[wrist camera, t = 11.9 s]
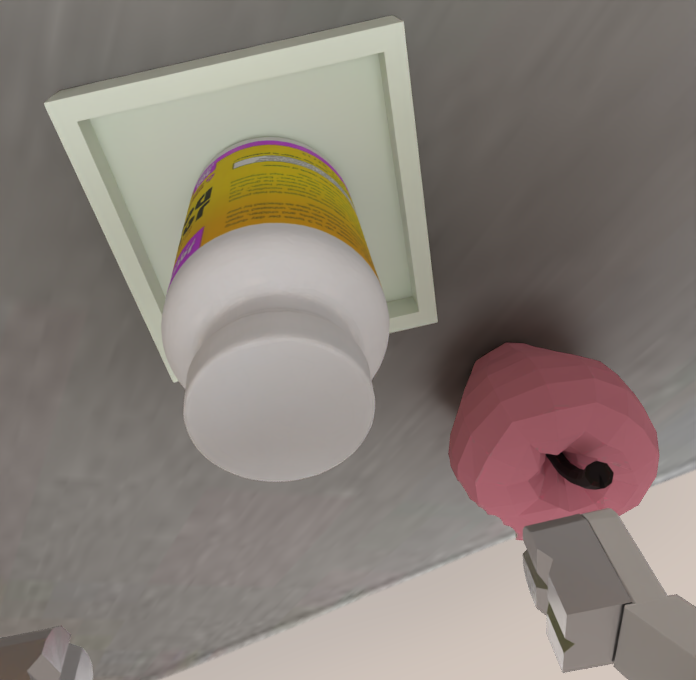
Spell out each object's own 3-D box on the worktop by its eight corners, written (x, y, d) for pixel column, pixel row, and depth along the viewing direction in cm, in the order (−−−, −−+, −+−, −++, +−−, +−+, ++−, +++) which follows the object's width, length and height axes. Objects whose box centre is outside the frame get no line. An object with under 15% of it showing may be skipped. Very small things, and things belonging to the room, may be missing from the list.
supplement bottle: (197, 117, 22) (143, 276, 12) (365, 148, 24) (451, 314, 13) (185, 273, 26) (136, 502, 15) (333, 291, 27) (380, 513, 17)
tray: (392, 15, 22) (403, 21, 20) (427, 300, 29) (437, 322, 27) (59, 90, 22) (43, 103, 20) (177, 357, 29) (173, 382, 27)
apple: (394, 365, 31) (444, 518, 23) (535, 265, 29) (647, 396, 20) (486, 455, 36) (554, 608, 28) (613, 376, 34) (728, 518, 25)
